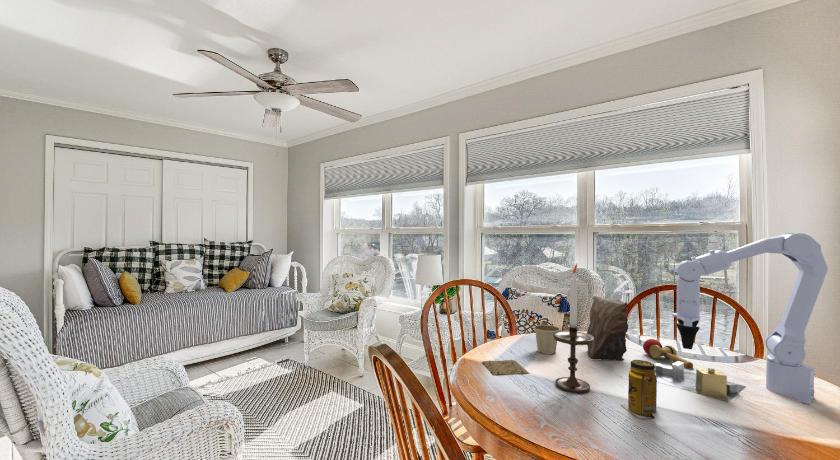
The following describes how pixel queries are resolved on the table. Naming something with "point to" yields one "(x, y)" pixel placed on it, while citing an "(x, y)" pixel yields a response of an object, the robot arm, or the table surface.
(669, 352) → the kendama
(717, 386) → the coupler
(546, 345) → the flower pot
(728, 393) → the shaft base
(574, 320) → the candlestick
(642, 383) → the condiment
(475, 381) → the table surface
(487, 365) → the brown stone coaster
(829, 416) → the table surface
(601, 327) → the brown rock block
